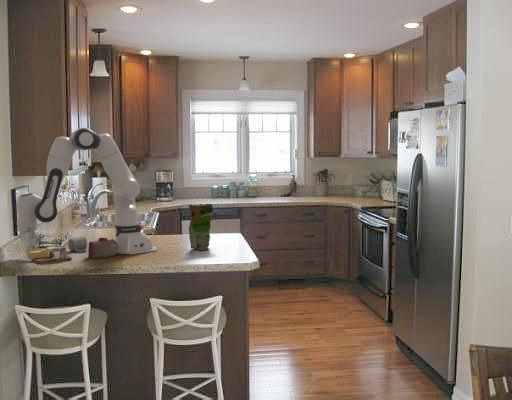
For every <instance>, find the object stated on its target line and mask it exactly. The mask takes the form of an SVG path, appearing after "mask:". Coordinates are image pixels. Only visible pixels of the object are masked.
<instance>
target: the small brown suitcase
mask: <svg viewBox="0 0 512 400" xmlns="http://www.w3.org/2000/svg"><path fill="white" fill-rule="evenodd" d="M97 239H98V240H90V241H89V242H88V248H87V249H88V251H87V253H88V254H87V255H88V256H87V257H88V258H90V259H92V260H93V259H101V258H103V259H105V258H110V257H114V256H116V255H118V254H119V253H118V243H117V242H116V239H113V238H111V239H110V238H109V239H108V237H99V238H97Z"/></svg>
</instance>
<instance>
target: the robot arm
mask: <svg viewBox="0 0 512 400" xmlns="http://www.w3.org/2000/svg"><path fill="white" fill-rule="evenodd" d="M80 150H81V151H89V150H93V151H94V152H95V154H96V155H97V157H98V159H99V161H100V163H101V165H102V167H103V170H104V171H105V173H106V176H108V178H109V180H110V181H111V182H112V184H111V189H112V195H113V203H114V208H115V209H114V210H115V225H114V234H115V241H116V242H117V243H118V253H117V254H120V255H123V254H125V255H137V254H143V253H150V252H156V251H158V248H157V247H156V246H155V245H153V240H152V239H151V237H150V236H148V235H147V234H146V233H144V232H143V231H142V230H144V229H145V227H144V225H140V224H138V209H137V205H136V198H137V196H139V195H140V192H141V187H140V184H139V182H137V180H136V178H135V176H134V175H133V172H131V169H130V168H129V167H128V165H127V163H126V161H125V159H124V156H123V154H122V153H121V151H120V149H119V147H118V145H117V143H116V142H115V140H114V138H112V136H111V135H110V134H108V133H100V134H98V133H96V132H94V130H92V129H90V128H87V127H80V128H77V129H75V130H74V131H73V132H72V133H71V134H70V135H69V136H57V137H56V138H55V139H54V140H53V143H52V145H51V148H50V151H49V152H48V157H47V160H46V177H47V178H46V185H45V189H44V191H43V196H42V197H41V196H38V195H36V194H35V193H33V192H32V193H24V194H21V195H20V196H18V198H17V201H16V213H17V216H18V217H17V231H18V232H19V240H20V243H21V244H23V245H24V246H25V247H24V248H25V253H26V255H27V252H31V251H32V249H34V248H36V247H37V236H36V231H38V221H40V222H42V223H50V222H52V221H54V220H55V219H56V217H57V215H58V207H57V201H58V200H57V199H58V195H59V191H60V188H61V185H62V182H63V181H64V179H65V178H66V176H67V174H68V172H69V171H70V167H71V164H72V162H73V156H74V154H75V153H76V151H80Z"/></svg>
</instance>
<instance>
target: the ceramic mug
mask: <svg viewBox="0 0 512 400" xmlns="http://www.w3.org/2000/svg"><path fill="white" fill-rule="evenodd" d="M67 247H68V249H69V251H71V252H77V253H80V254H81V253H85V252H86V253H87V249H88V240H87V238H86V237H85V236H84V235H80V236H75V237H71V238H69V239H68V240H67Z"/></svg>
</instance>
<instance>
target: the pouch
mask: <svg viewBox="0 0 512 400" xmlns="http://www.w3.org/2000/svg"><path fill="white" fill-rule="evenodd" d="M213 206H214V205H213V204H212V203H204V204H202V203H199V204H198V205H197V204H194V205H193V204H189V205H188V208H189V211H190V222H189V226H188V234H189V235H188V237H189V243H190V244H189V245H190V249H191V250H193V249H194V250H197V251H198V252H202V251H208V248H209V246H210V240H211V234H210V233H211V232H210V231H211V222H212V215H213V212H214V208H213Z"/></svg>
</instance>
